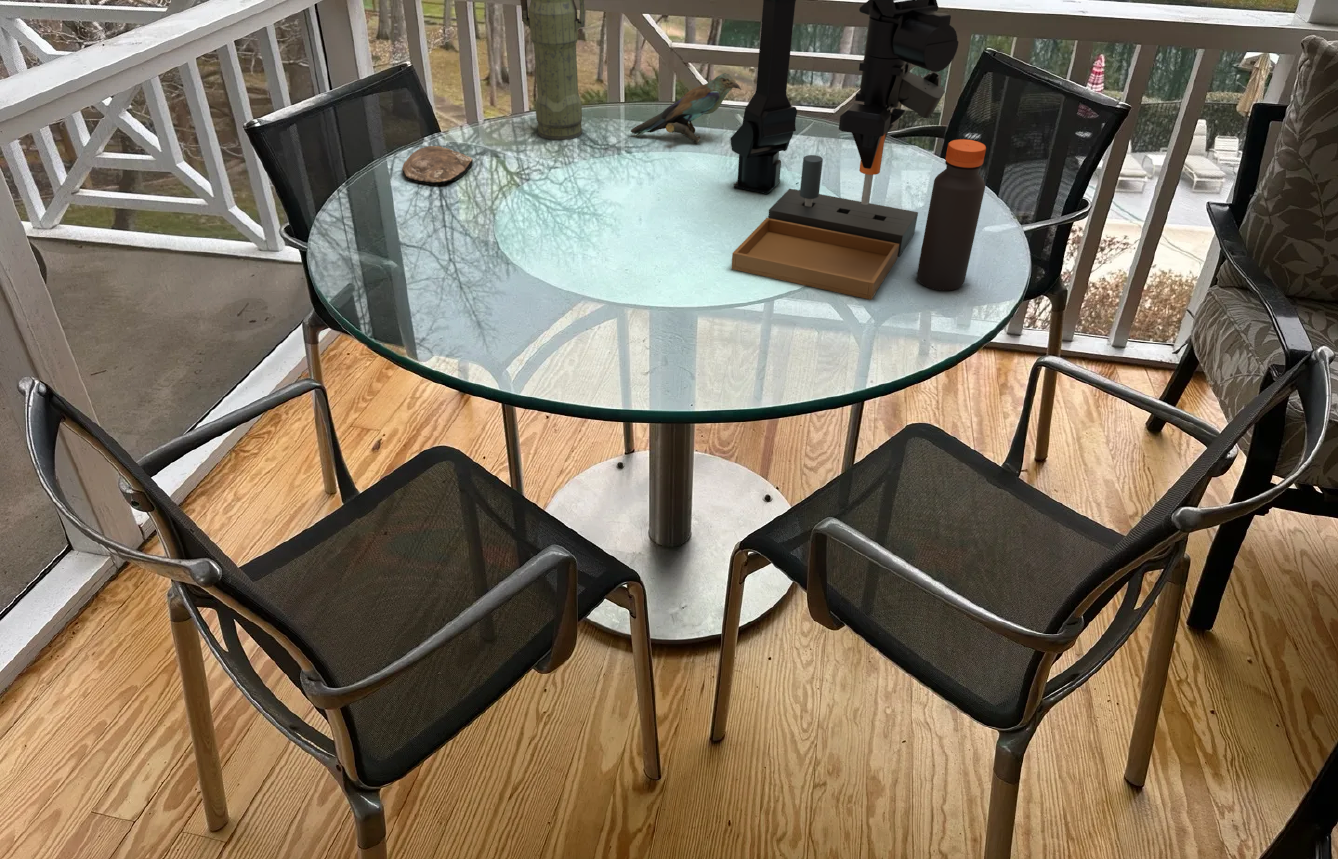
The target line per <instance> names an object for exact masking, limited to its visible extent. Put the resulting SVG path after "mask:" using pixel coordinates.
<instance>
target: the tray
mask: <svg viewBox="0 0 1338 859" xmlns="http://www.w3.org/2000/svg"><path fill="white" fill-rule="evenodd" d="M898 250H899V244H898V243H892V242H887V241H882V240H877V239H872V238H867V237H862V236H857V235H852V234H847V233H842V232H837V231H831V230H826V229H821V228H816V227H811V226H806V225H801V224H796V223H791V222H786V221H781V220H776V219H770V218H768V217H766V218H765V219H763V221H762V222H761V223H760V224H759V225H758V226H757V227H756V228H755V229H754V230H753V231H752V232H751V233H750V234H749V235H748V236H747V238H745V239H744V241H743V242H741V243H740V245H739V246H738V247H737V248H736V249H735V250H734V251H733V252H732V254H731V270H734V271H738V272H743V273H747V274H752V275H755V276H756V275H757V276H761V277H765V278H770V279H775V280H780V281H784V282H788V283H792V284H797V285H802V286H807V287H810V288H812V287H813V288H816V289H821V290H826V291H829V292H835V293H839V294H843V295H847V296H852V297H857V298H862V299H865V300H870V301H872V300H873V298H874V297H875V295H876V293H877V291H878V289H880V288H881V286H882V283H883V282H884V280H885V279H886V277H887V276H888V274H889V273H890V271H891V270H892V268H893V267H894V265H895V263H896V262H897V260H898V257H897V256H898Z"/></svg>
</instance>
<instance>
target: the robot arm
mask: <svg viewBox="0 0 1338 859" xmlns="http://www.w3.org/2000/svg"><path fill="white" fill-rule="evenodd" d="M762 1H763V2H762V12H761V13H762V14H761V25H760V26H761V27H760V37H759V49H758V50H759V51H758V62H757V73H756V74H757V75H756V86H755V92H754V93H753V96H752V97H751V99H750V100H749V102H748V104H747V105H746V106H745V108H744V113H743V119H742V124H741V125H740V126H739V128H738V129H737V130H736V131H735V132H734V133H733V134H732V136H731V137H730V147H731V151H732V152H734V153H735V154H737V155H738V163H737V166H738V167H737V181H735V183H734V184H733V188H734V189H739V190H743V191H744V190H745V191H750V192H755V193H761V194H766V195H768V194H769V193H771V192H772V191H773V190H774V188H775V187H777V186H778V185H779V184H780V182H781V169H782V168H781V167H782V161H781V159H779V158H780V152H785V151H788V148H789V145H790V142H791V140H792V138H793V136H794V132H796V131H797V128H796V120H797V114H798V109H797V106H793V105H792V103H791V102H790V99H789V96H787V91H788V79H789V69H790V60H791V50H792V40H793V32H794V31H793V30H794V21H795V20H794V19H795V10H796V9H795V8H796V2H797V0H762ZM938 10H939V4H938V1H937V0H899V1H896V0H867V1H865V2H864V3H863V4H862V5H861V6H859V12H860V13H861V14H863V15H867V16H869V17H868V24H867V33H866V39H865V46H864V47H865V49H864V55H863V56H864V57H863V59H862V61H860V62H859V66H858V71H859V72H860V71H861V77H860V78H861V79H860V86H859V87H860V88H859V90H858V91H857V92H856V93H855V98H854V101H855V102H859V103H855V102H853V103H852V104H851V105H850V106H849V107H847V108H846V110H844V111H843V112H842V113H841V115H840V116H839V123H838V130H839V131H841V132H845V133H850V134H851V136H852V137H853V140H854V142H855V145H856V149H857V151H858V155H859V158H860V162H861V161H862V164H863V167H864V168H867V169H870V168H871V167H872V164H873V162H874V159H875V155H876V152H877V149H878V146H879V143H880V140H881V136H884V134H885V133H886V134H885V140H886V139H887V136H888V134H889V132H890V131H891V130H892V128H893V127H894V125H895V124H894V123H895V122H897V121H898V120H899V119H901V117H902V116H903V115H904V114H905V113H906V110H905V109H902V108H898V107H899V104H901V105H902V106H904V107H905V108H907V109H909V110H911V111H913V112H915V113H916V114H917V115H918V116H919V117H920V118H923V119H930V117H932V116H931V115H932V114H933V113H934V112H935V110H936V108H937V107H938V105H939V103H940V102H941V99H942V98H943V96H944V94H945V90H944V89H945V87H944V86H942V74H941V73H939V72H941V71H943V70H944V69H946V68H947V67H948V66H949V65H950V64H951V63H952V62H953V60H954V58H955V57H956V54H957V52H958V47H959V40H958V34H957V31H956V30H955V28H954V27H953V26H952V25H950V24H951V20H952V15H951V14H949V13H945V12H938ZM911 65H913V66H915V67H919V68H921V69H924V70H927V71H929V72H928V73H926V74H925V75H923V77H922V74H920V73H919V74H917V75H916V74H915V73H913V72H911ZM860 102H861V103H860ZM862 103H863V104H862Z"/></svg>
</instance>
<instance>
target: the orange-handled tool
mask: <svg viewBox="0 0 1338 859" xmlns="http://www.w3.org/2000/svg"><path fill="white" fill-rule="evenodd" d="M885 134H886V133H885ZM885 134H884V136H881V140H880V143H879V146H878V149H877V152H876V155H875V159H874V162H873V164H872V167H871V168H870V169H867V168H864V167H863V164H862V161H861V160H860V163H859V170H858V171H859V172H860V173H861V174H863V175H864V178H863V185H862V192H861V200H860V202H861V204H863V205H868V204H869V203H870V200H871V195H872V194H871V193H872V187H873V179H874V176H875V175H879V174H880V173H881V168H882V161H883V154H884V147H885V141H886V139H885Z"/></svg>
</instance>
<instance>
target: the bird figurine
mask: <svg viewBox="0 0 1338 859" xmlns="http://www.w3.org/2000/svg"><path fill="white" fill-rule="evenodd" d="M733 89H738V90H740V91H742V87H741V86H740V85H739V84H738V83H737V82H736V79H735V78H734V77H733V76H732V75H731V74H730V73H726V72H724V73H721V74H719V75H717V76H716V77H715V78H714V79H712V80H710V81H709V82H707V83H704V84H701V85H698V86H696V87H694V88H692V89H691V90H688V91H687V92H686V93H685V94H683V96H682V97H680V99H679V100H677V101H676V102H674V103H672V104H671V105H669V106H667V107H666V108H665V109H664V110H663V111H662V112H660V113H658V114H657V115H654V116H653V117H651V118H649V119H647V120H645V121H644V122H642V123H640V124H638V125H636V126H634V127H632V129H630V133H632V134H633V135H634V137H635V138H638V137H639V136H642V135H643V134H646V133H654V132H657V131H661V130H664V129H665V130H666V132H668V133H669V134H675V133H679V134H681V135H683V136H685V137H687V138H688V139H689V140H690V141H691V142H693V143H695V144H696V145H697V144H698V143H699V142H700V139H701V136H700V135H699V136H698V135H696V133H695V132H696V127H695V126H694V125H693V123H692V122H693V121H694V120H697V119H698V118H700V117H701V116H703V115H709V114H713V113H715V112H716V111H717V110H718V109H719V108H720V107H721V105H722V103H723V101H724V100H725V99H726V96H727V95H728V94H729V92H730V91H732V90H733Z"/></svg>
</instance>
